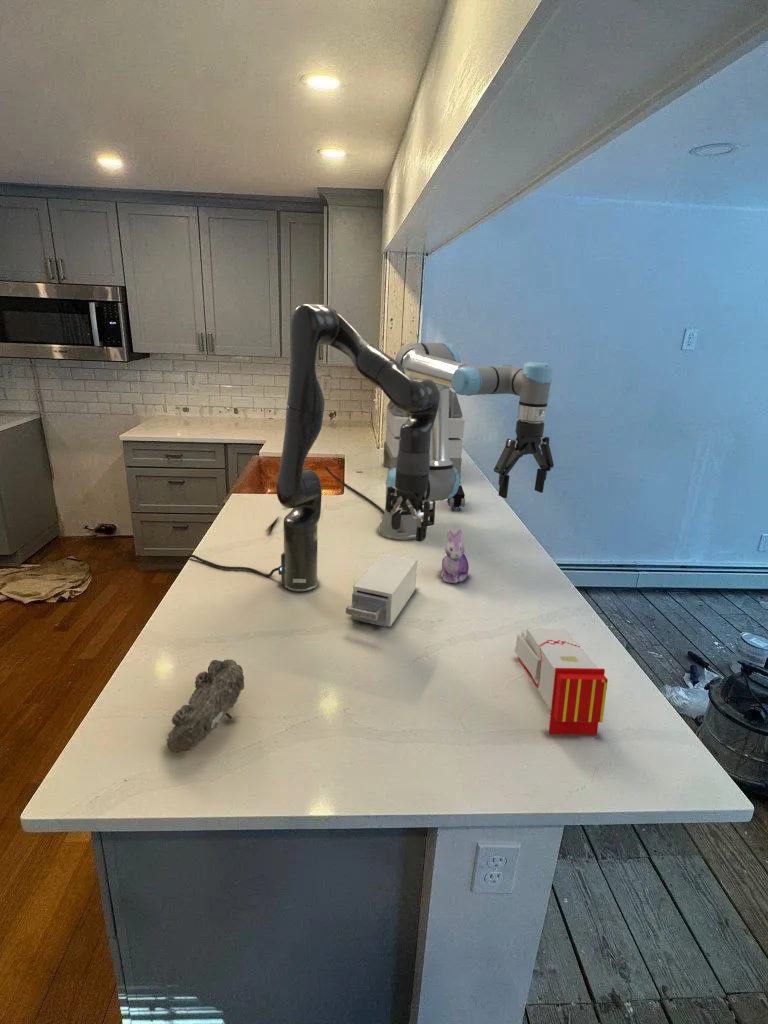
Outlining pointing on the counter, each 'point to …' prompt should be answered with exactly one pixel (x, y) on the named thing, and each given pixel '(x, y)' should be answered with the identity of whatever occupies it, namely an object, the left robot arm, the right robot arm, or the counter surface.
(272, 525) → the feather
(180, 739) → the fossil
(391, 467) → the transformer
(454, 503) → the figurine character
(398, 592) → the cabinet
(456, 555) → the figurine
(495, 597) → the counter surface
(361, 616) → the drawer
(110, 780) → the counter surface
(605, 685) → the toy
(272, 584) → the counter surface
